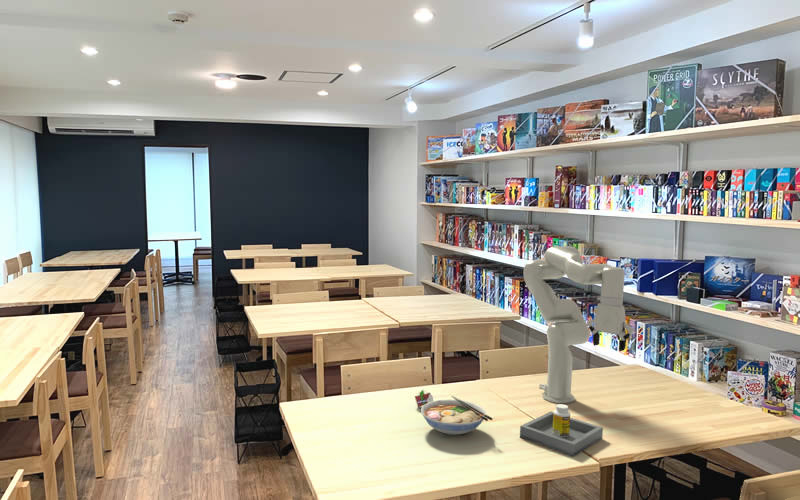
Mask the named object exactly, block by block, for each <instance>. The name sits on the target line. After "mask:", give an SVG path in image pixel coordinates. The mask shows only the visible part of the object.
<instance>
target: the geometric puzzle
mask: <svg viewBox="0 0 800 500" xmlns="http://www.w3.org/2000/svg"><path fill="white" fill-rule="evenodd" d="M426 391H427V390H424V389H422V390H421V391H419V392H418V393H417V394H416V395H415V396H414V399H415V403H416V405H417V408H419V407H420V408H422V406H423V405H425V404H427V403H428V402H432V401H434V397H433V395H432V393H431V392H426Z"/></svg>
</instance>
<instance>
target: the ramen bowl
mask: <svg viewBox="0 0 800 500" xmlns="http://www.w3.org/2000/svg"><path fill="white" fill-rule="evenodd" d="M451 397H452V398H453V399H451V398H449V399H437V400H433V401H432V402H428V403H427V404H425V405H423V406H422V407H420V408H421V409H420V412H421V414H422V416H423V418H424V419H425V421H426V422H427V424H428V425H429V427H431V428H433V429H434V430H436V431H438V432H440V433H443V434H445V435H449V436H459V435H462V434H463V435H465V434H468V433H471V432H472V431H475V429H477V428H478V427H479V426H480V425H481V424H482V422H483V421H486V422H488V421H493V418H492V417H491V416H489V415H487V411H486V409H484V407H482V406H480V405H479V404H476V403H473V402H470V401H468V400H467V401H466V400H461V399H459V398H457V397H456V396H453V395H451Z"/></svg>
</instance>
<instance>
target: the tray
mask: <svg viewBox="0 0 800 500" xmlns="http://www.w3.org/2000/svg"><path fill="white" fill-rule="evenodd" d="M553 413H554V411H549V412H547V413H545V414H543V415H541V416H539V417H536V418H534V419H532V420H530V421H528V422H526V423H524V424H522V425H520V428H519V438H521V439H523V440H525V441H526V440H527V441H529V442H532V443H534V444H537V445H540V446H543V447H545V448H549V449H552V450H554V451H557V452H560V453H562V454H565V455H568V456H570V457H575V456H577V455H579V454H580V453H582V452H583V451H585V450H587V449H588V448H589V447H592V446H593V445H595V444H596V443H598V442H600V441H602V440H603V435H604V434H603V432H604V431H603V430H604V428H603V427H602V426H598V425H596V424H592V423H589V422H586V421H583V420H580V419H577V418H573V417H570V428H569V436H568V437H565V438H561V437H557V436H555V435H554V434H553Z"/></svg>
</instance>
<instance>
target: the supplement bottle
mask: <svg viewBox="0 0 800 500" xmlns="http://www.w3.org/2000/svg"><path fill="white" fill-rule="evenodd" d="M555 406H556V407H555V409H554V410H553V412H554V413H553V434H554V435H555V436H557V437H561V438H565V437H568V436H569V428H570V418H571V413H570V411H569V406H568V405H566V404H565V403H557V404H556V405H555Z"/></svg>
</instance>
